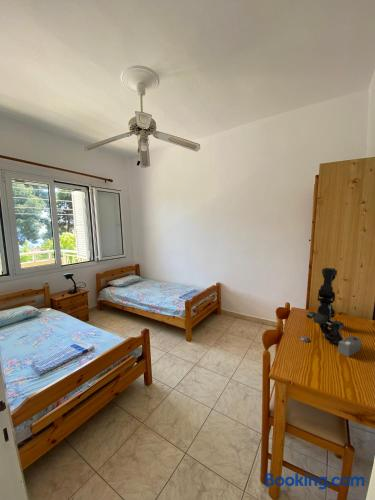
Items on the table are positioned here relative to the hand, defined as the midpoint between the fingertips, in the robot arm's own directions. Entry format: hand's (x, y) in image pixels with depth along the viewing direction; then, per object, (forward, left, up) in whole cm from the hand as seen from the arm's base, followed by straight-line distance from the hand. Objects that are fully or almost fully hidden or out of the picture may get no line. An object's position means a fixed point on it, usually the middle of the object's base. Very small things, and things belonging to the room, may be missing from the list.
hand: (323, 332), depth 126 cm
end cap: (-2, +3, -3) cm, 4 cm away
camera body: (0, +14, -4) cm, 15 cm away
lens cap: (+11, -4, -4) cm, 12 cm away
